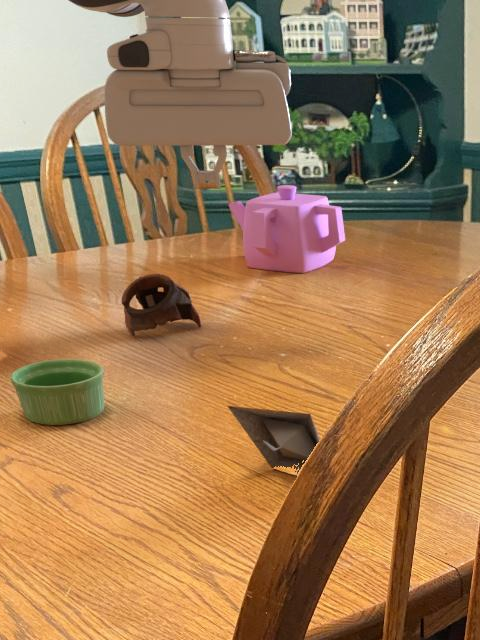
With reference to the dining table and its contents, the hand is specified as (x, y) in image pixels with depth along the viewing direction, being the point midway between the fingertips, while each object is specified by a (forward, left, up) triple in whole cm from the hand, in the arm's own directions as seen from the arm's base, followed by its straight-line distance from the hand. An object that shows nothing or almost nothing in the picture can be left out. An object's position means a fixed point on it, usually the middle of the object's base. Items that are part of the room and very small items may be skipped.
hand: (208, 188), depth 106 cm
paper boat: (+5, -39, -19) cm, 44 cm away
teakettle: (+12, +49, -19) cm, 54 cm away
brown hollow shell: (-8, +10, -19) cm, 23 cm away
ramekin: (-17, -20, -19) cm, 32 cm away
